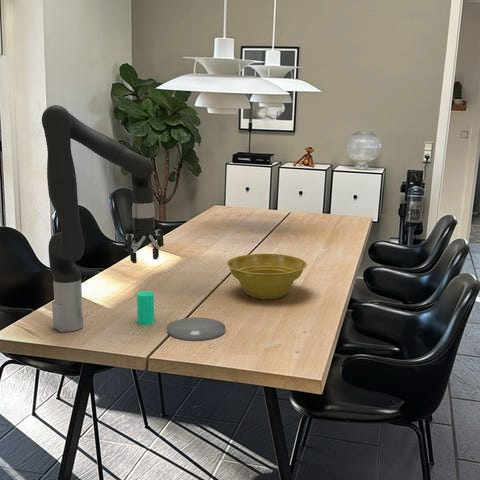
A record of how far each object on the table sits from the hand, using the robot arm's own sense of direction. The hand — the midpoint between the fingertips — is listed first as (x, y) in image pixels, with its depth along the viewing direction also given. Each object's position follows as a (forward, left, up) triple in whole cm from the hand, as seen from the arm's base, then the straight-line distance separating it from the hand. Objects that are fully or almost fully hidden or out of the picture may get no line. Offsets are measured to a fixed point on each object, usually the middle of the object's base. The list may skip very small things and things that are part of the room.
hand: (144, 261), depth 234 cm
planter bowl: (+56, -1, -23) cm, 60 cm away
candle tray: (+9, -18, -22) cm, 30 cm away
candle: (0, 0, -23) cm, 23 cm away
